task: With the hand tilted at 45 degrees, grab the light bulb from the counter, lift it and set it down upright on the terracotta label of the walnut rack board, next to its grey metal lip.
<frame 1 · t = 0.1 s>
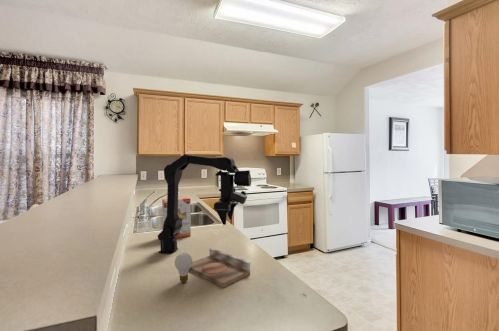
hand: (227, 221, 112), 15 cm above the countertop, tool pointing down, fingers open, 9 cm apart
cracker box: (176, 237, 139), on the countertop
rack board: (216, 271, 97), on the countertop
light bulb: (183, 282, 88), on the countertop
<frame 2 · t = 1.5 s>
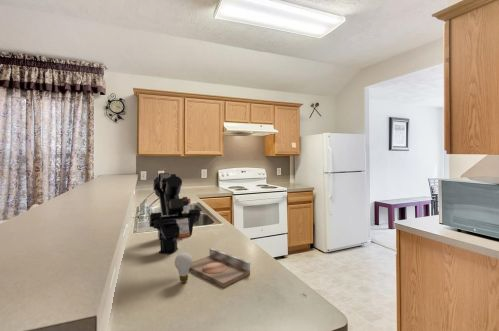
hand: (178, 236, 95), 13 cm above the countertop, tool tilted 45°, fingers open, 9 cm apart
nothing on the countertop moved.
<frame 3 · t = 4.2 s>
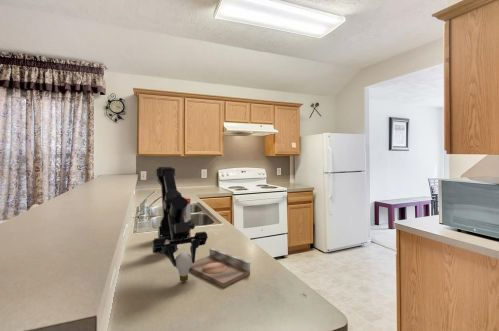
hand: (184, 264, 87), 7 cm above the countertop, tool tilted 45°, fingers closed on light bulb, 6 cm apart
light bulb: (183, 282, 88), on the countertop, touching gripper
everything else where it was.
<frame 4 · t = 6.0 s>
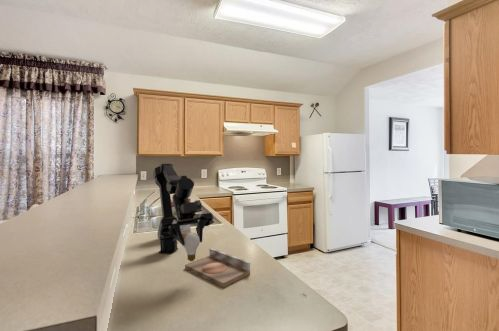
hand: (192, 243, 88), 13 cm above the countertop, tool tilted 45°, fingers closed on light bulb, 6 cm apart
light bulb: (191, 261, 90), point 6 cm above the countertop, touching gripper
everything else where it was.
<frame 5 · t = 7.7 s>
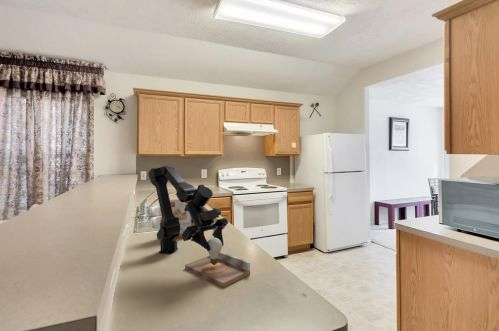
hand: (216, 248, 95), 9 cm above the countertop, tool tilted 45°, fingers closed on light bulb, 6 cm apart
light bulb: (214, 265, 96), point 3 cm above the countertop, touching gripper
everything else where it was.
when the fingers open (9 cm above the countertop, at t = 8.1 s): light bulb stays where it is, resting on rack board.
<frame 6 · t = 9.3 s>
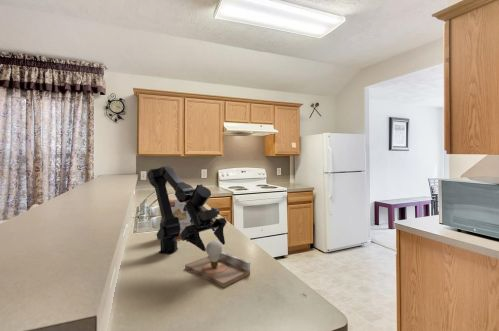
hand: (214, 247, 95), 9 cm above the countertop, tool tilted 45°, fingers open, 9 cm apart
light bulb: (214, 268, 96), point 2 cm above the countertop, touching rack board
everything else where it was.
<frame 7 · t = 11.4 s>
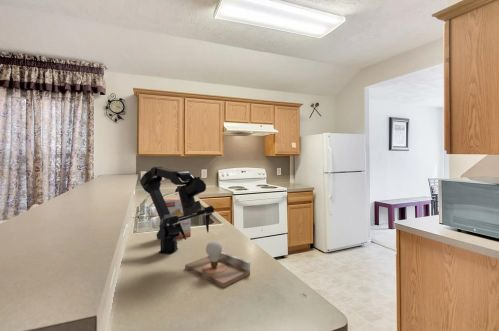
hand: (197, 236, 105), 11 cm above the countertop, tool tilted 20°, fingers open, 9 cm apart
nothing on the countertop moved.
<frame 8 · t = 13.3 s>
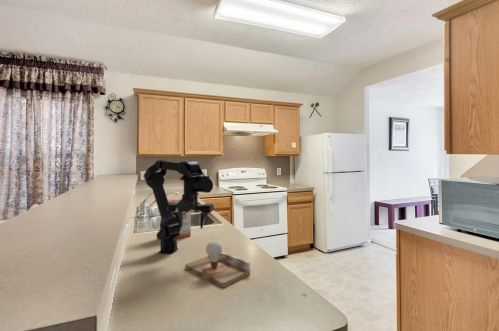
hand: (191, 227, 109), 13 cm above the countertop, tool pointing down, fingers open, 9 cm apart
nothing on the countertop moved.
at the end: light bulb inside the target area on the rack board (0.3 cm from its centre), point 1.5 cm above the rack board's base; light bulb tilted 0°; the gripper is holding nothing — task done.
